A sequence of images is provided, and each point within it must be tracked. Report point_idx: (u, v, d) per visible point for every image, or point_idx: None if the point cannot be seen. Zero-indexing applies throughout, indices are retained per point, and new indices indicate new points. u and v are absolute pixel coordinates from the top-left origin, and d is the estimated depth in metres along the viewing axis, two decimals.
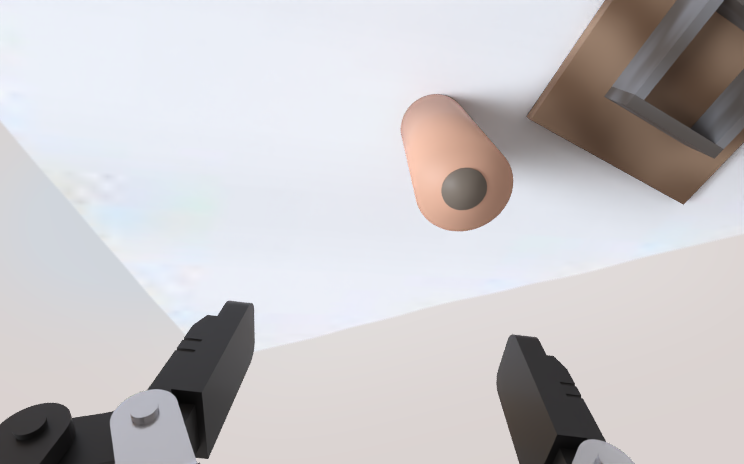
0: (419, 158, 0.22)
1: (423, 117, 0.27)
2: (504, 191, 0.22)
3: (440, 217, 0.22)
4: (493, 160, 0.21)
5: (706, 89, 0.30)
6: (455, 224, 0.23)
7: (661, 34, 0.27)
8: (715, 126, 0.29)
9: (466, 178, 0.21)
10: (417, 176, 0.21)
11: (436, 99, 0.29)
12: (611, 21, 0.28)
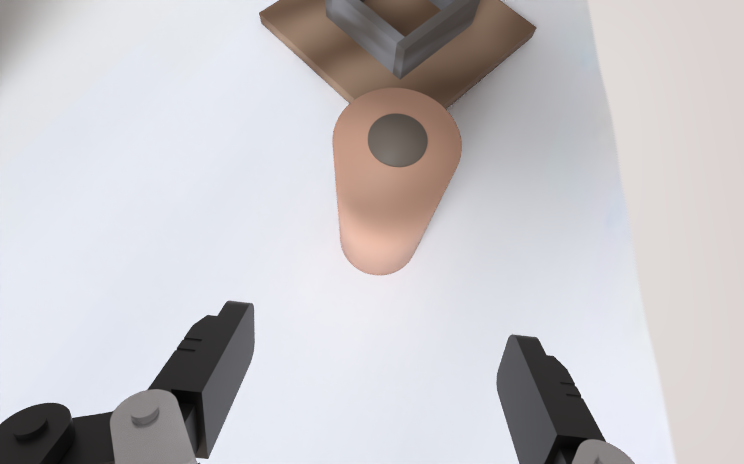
0: (348, 194, 0.17)
1: (339, 219, 0.22)
2: (417, 99, 0.17)
3: (429, 177, 0.16)
4: (371, 102, 0.17)
5: (422, 10, 0.33)
6: (447, 162, 0.16)
7: (358, 32, 0.31)
8: None
9: (383, 135, 0.16)
10: (360, 189, 0.16)
11: None
12: (335, 69, 0.31)
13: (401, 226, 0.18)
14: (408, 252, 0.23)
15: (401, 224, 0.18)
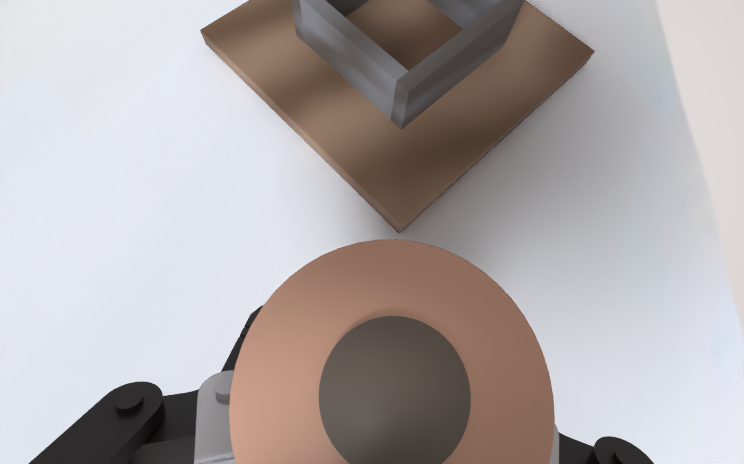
0: None
1: None
2: (441, 271, 0.07)
3: None
4: (332, 281, 0.07)
5: (432, 26, 0.24)
6: (521, 458, 0.06)
7: (340, 60, 0.21)
8: (479, 7, 0.22)
9: (359, 375, 0.07)
10: None
11: None
12: (307, 113, 0.21)
13: None
14: None
15: None
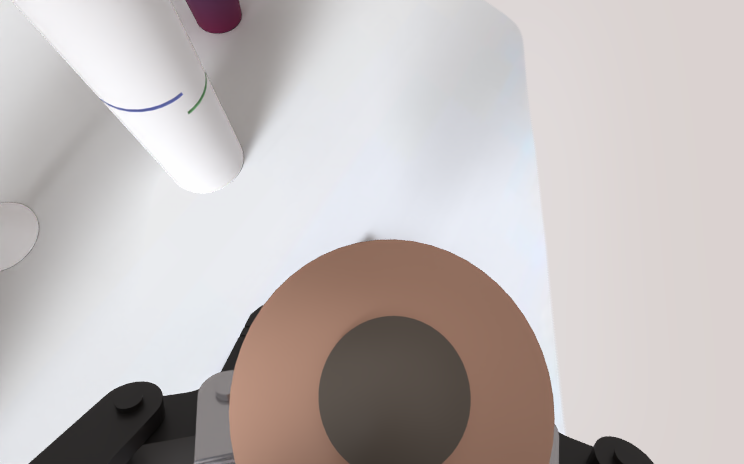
0: None
1: None
2: (441, 271, 0.07)
3: None
4: (331, 281, 0.07)
5: None
6: (521, 458, 0.06)
7: None
8: None
9: (359, 375, 0.07)
10: None
11: None
12: None
13: None
14: None
15: None
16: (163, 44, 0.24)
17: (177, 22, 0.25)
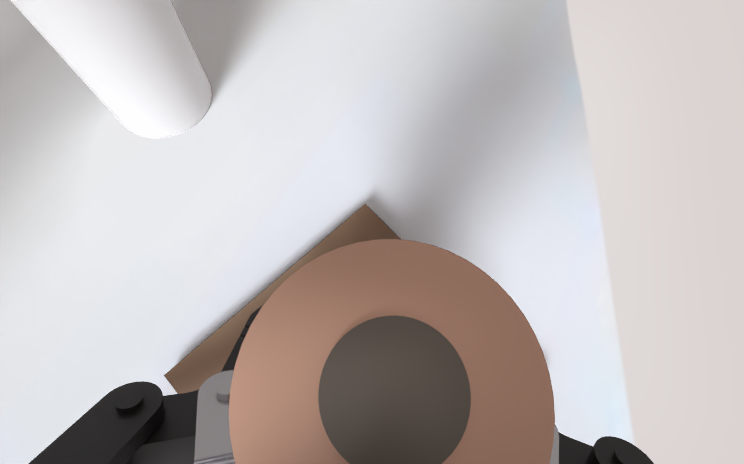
0: None
1: None
2: (441, 270, 0.07)
3: None
4: (331, 281, 0.07)
5: None
6: (521, 457, 0.06)
7: None
8: None
9: (359, 375, 0.07)
10: None
11: None
12: None
13: None
14: None
15: None
16: None
17: None
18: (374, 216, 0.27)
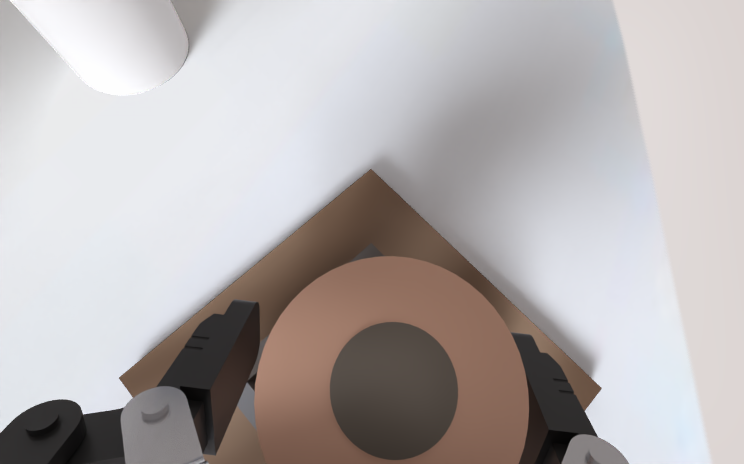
0: None
1: None
2: (433, 283, 0.08)
3: None
4: (340, 292, 0.08)
5: None
6: (500, 442, 0.07)
7: None
8: None
9: (364, 372, 0.08)
10: None
11: None
12: None
13: None
14: None
15: None
16: None
17: None
18: (382, 183, 0.23)
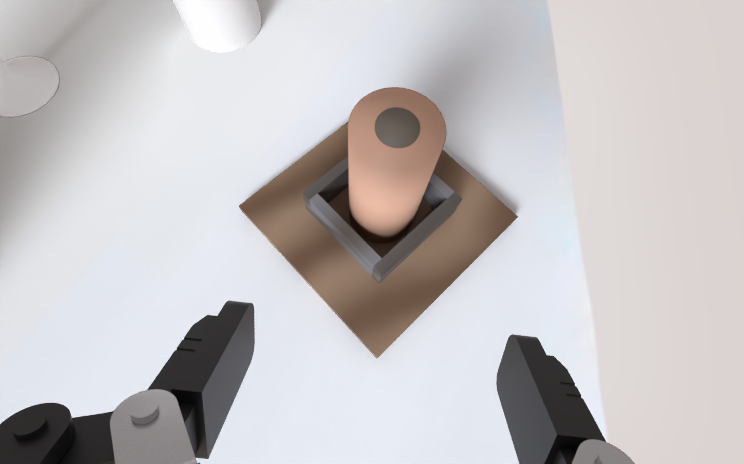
0: (360, 169, 0.22)
1: (350, 194, 0.28)
2: (412, 96, 0.22)
3: (421, 155, 0.21)
4: (376, 99, 0.22)
5: None
6: (435, 144, 0.21)
7: (336, 236, 0.31)
8: (434, 195, 0.31)
9: (386, 123, 0.21)
10: (369, 165, 0.21)
11: None
12: (314, 272, 0.31)
13: (400, 195, 0.23)
14: (406, 221, 0.29)
15: (400, 194, 0.23)
16: None
17: None
18: None
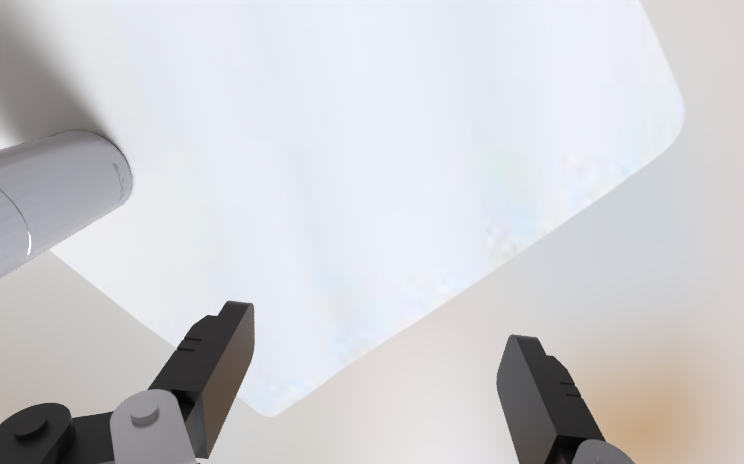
0: None
1: None
2: None
3: None
4: None
5: None
6: None
7: None
8: None
9: None
10: None
11: None
12: None
13: None
14: None
15: None
16: None
17: None
18: None
